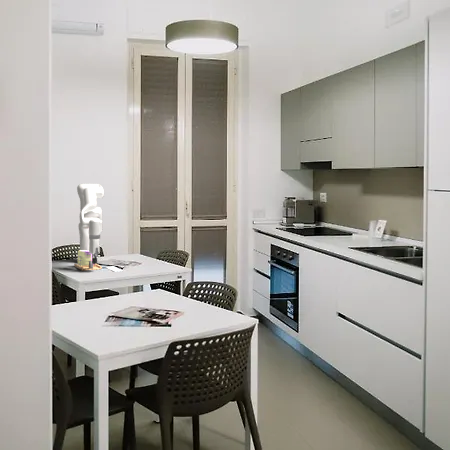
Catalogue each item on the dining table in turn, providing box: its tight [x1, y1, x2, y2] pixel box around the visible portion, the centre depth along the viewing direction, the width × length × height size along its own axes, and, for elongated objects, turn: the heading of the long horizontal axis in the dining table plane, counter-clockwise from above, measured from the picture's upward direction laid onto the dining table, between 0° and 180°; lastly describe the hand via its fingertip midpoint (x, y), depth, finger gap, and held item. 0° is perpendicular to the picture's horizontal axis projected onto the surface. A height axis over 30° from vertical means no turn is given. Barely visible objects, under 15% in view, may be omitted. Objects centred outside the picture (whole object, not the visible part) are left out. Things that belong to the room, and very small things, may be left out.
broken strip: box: [105, 266, 123, 273], centre depth 413 cm, size 20×6×1 cm, turn 28°
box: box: [77, 249, 94, 266], centre depth 421 cm, size 10×6×12 cm, turn 79°
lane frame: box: [73, 261, 103, 271], centre depth 418 cm, size 20×14×6 cm
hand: (94, 263), depth 403 cm, fingers closed
